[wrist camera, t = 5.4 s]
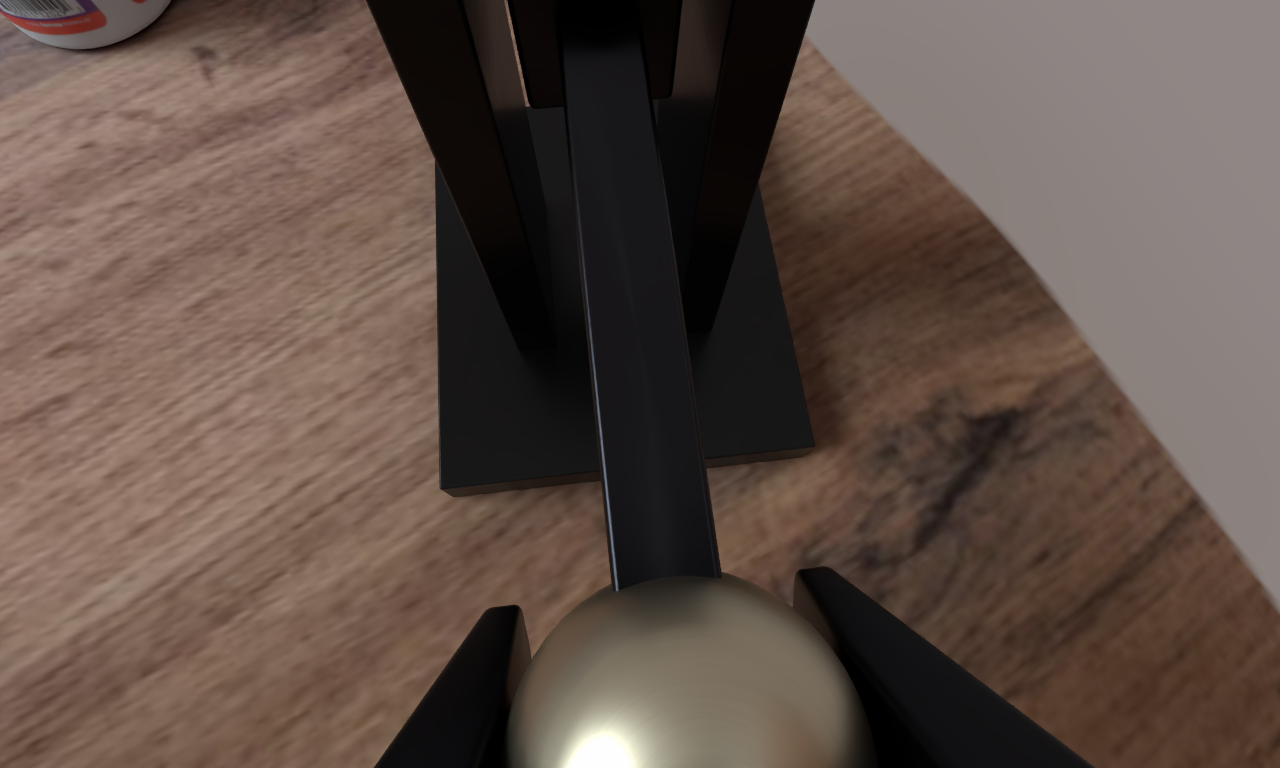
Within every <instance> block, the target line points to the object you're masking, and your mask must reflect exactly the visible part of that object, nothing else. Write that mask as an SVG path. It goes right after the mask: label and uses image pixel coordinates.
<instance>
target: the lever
mask: <svg viewBox="0 0 1280 768" xmlns="http://www.w3.org/2000/svg"><path fill="white" fill-rule="evenodd" d="M507 1H508V6H509V11H510V16H511V21H512V25H513V30H514V35H515V40H516V45H517V49H518V54H519V59H520V64H521V69H522V73H523V78H524V83H525V88H526V93H527V97H528V102H529V104H530V106H531V107H532V108H534V109H542V108H555V107H564V116H565V126H566V136H567V146H568V156H569V166H570V176H571V186H572V196H573V205H574V215H575V225H576V235H577V245H578V255H579V265H580V275H581V285H582V295H583V305H584V315H585V325H586V334H587V344H588V354H589V364H590V374H591V384H592V394H593V404H594V414H595V424H596V434H597V444H598V454H599V463H600V473H601V483H602V493H603V503H604V513H605V523H606V533H607V543H608V553H609V563H610V573H611V583H612V584H610V585H608V586H606V587H604V588H602V589H600V590H599V591H597V592H596V593H594V594H593V595H591V596H590V597H588V598H587V599H585V600H584V601H582V602H581V603H580V604H579V605H577V606H576V607H575V608H574V609H573V610H572V611H571V612H570V613H568V614H567V615H566V616H565V617H564V618H563V619H562V620H561V621H560V622H559V623H558V625H557V626H556V627H555V628H554V629H553V630H552V631H551V632H550V634H549V635H548V636H547V637H546V639H545V640H544V642H543V643H542V645H541V646H540V648H539V649H538V650H537V652H536V653H535V655H534V656H533V658H532V660H531V662H530V664H529V666H528V668H527V670H526V672H525V674H524V676H523V678H522V680H521V682H520V684H519V687H518V689H517V692H516V695H515V697H514V700H513V703H512V705H511V708H510V712H509V716H508V720H507V724H506V728H505V732H504V737H503V745H502V753H501V761H500V768H878V761H877V754H876V748H875V744H874V740H873V736H872V732H871V728H870V724H869V720H868V717H867V715H866V712H865V709H864V707H863V704H862V701H861V699H860V696H859V694H858V692H857V690H856V688H855V686H854V684H853V682H852V680H851V678H850V676H849V674H848V672H847V671H846V669H845V668H844V666H843V664H842V663H841V661H840V660H839V658H838V657H837V656H836V654H835V653H834V651H833V650H832V648H831V647H830V645H829V644H828V642H827V641H826V640H825V639H824V638H823V637H822V636H821V634H820V633H819V632H818V631H817V630H816V629H815V627H814V626H813V625H812V624H811V623H810V622H809V621H807V620H806V619H805V618H804V617H803V616H802V615H801V614H800V613H799V612H798V611H796V610H795V609H794V608H793V607H791V606H790V605H789V604H787V603H786V602H784V601H783V600H781V599H780V598H779V597H777V596H776V595H774V594H773V593H771V592H769V591H767V590H765V589H763V588H761V587H760V586H758V585H756V584H754V583H752V582H750V581H747V580H745V579H742V578H739V577H736V576H734V575H731V574H728V573H723V572H721V567H720V560H719V553H718V546H717V539H716V532H715V525H714V518H713V512H712V505H711V498H710V491H709V484H708V477H707V470H706V463H705V456H704V449H703V443H702V436H701V429H700V422H699V415H698V408H697V401H696V394H695V387H694V380H693V374H692V367H691V360H690V353H689V346H688V339H687V332H686V325H685V318H684V311H683V305H682V298H681V291H680V284H679V277H678V270H677V263H676V256H675V249H674V242H673V236H672V229H671V222H670V215H669V208H668V201H667V194H666V187H665V180H664V173H663V167H662V160H661V153H660V146H659V139H658V132H657V125H656V118H655V111H654V105H653V100H654V99H667V98H669V97H671V95H672V92H673V85H674V76H675V67H676V58H677V49H678V39H679V30H680V21H681V12H682V3H683V0H507Z"/></svg>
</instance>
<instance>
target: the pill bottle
mask: <svg viewBox="0 0 1280 768" xmlns="http://www.w3.org/2000/svg"><path fill="white" fill-rule="evenodd" d="M170 2H171V0H0V12H1V13H2V14H3V15H4V16H5V17H6V18H8V19H9V20H10V21H11V22H12V23H13V24H14V25H16V26H17V27H18V28H19V29H20V30H21V31H23V32H24V33H26V34H27V35H29V36H30V37H32V38H34V39H36V40H38V41H40V42H42V43H45V44H48V45H51V46H56V47H60V48H68V49H90V48H97V47H103V46H106V45H110V44H113V43H116V42H119V41H121V40H124V39H126V38H128V37H130V36H132V35H134V34H136V33H138V32H139V31H141V30H142V29H144V28H146V27H147V26H148V25H149V24H151V23H152V22H153V21H155V20H156V19H157V18H158V17H159V16H160V15H161V14H162V12H163V11H164V10H165V9H166V7H167V6H168V5H169V3H170Z"/></svg>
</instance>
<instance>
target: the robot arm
mask: <svg viewBox="0 0 1280 768" xmlns="http://www.w3.org/2000/svg"><path fill="white" fill-rule="evenodd" d="M793 608H794V609H795V610H796V611H798V612H799V613H800V614H801V615H802V616H803V617H804V618H805V619H806V620H807V621H809V622H810V623H811V624H812V625H813V626H814V627H815V629H816V630H817V631H818V632H819V633H820V634H821V636H822V637H823V638H824V639H825V640H826V641H827V642H828V644H829V645H830V647H831V648H832V650H833V651H834V653H835V654H836V656H837V657H838V658H839V660H840V661H841V663H842V664H843V666H844V668H845V669H846V671H847V672H848V674H849V676H850V678H851V680H852V682H853V684H854V686H855V688H856V690H857V692H858V694H859V696H860V699H861V701H862V704H863V707H864V709H865V712H866V715H867V717H868V720H869V724H870V728H871V732H872V736H873V740H874V744H875V748H876V754H877V761H878V768H1095V767H1093V766H1092V765H1091V764H1089V763H1088V762H1087V761H1086V760H1084V759H1083V758H1082V757H1080V756H1079V755H1078V754H1076V753H1075V752H1074V751H1072V750H1071V749H1070V748H1068V747H1067V746H1066V745H1064V744H1063V743H1062V742H1060V741H1059V740H1058V739H1056V738H1055V737H1054V736H1052V735H1051V734H1050V733H1048V732H1047V731H1046V730H1044V729H1043V728H1042V727H1041V726H1039V725H1038V724H1037V723H1035V722H1034V721H1033V720H1031V719H1030V718H1029V717H1027V716H1026V715H1025V714H1023V713H1022V712H1021V711H1019V710H1018V709H1017V708H1015V707H1014V706H1013V705H1011V704H1010V703H1009V702H1007V701H1006V700H1005V699H1003V698H1002V697H1001V696H999V695H998V694H997V693H996V692H994V691H993V690H992V689H990V688H989V687H988V686H986V685H985V684H984V683H982V682H981V681H980V680H978V679H977V678H976V677H974V676H973V675H972V674H970V673H969V672H968V671H966V670H965V669H964V668H962V667H961V666H960V665H958V664H957V663H956V662H954V661H953V660H952V659H951V658H949V657H948V656H947V655H945V654H944V653H943V652H941V651H940V650H939V649H937V648H936V647H935V646H933V645H932V644H931V643H929V642H928V641H927V640H925V639H924V638H923V637H921V636H920V635H919V634H917V633H916V632H915V631H913V630H912V629H911V628H910V627H908V626H907V625H906V624H904V623H903V622H902V621H900V620H899V619H898V618H896V617H895V616H894V615H892V614H891V613H890V612H888V611H887V610H886V609H884V608H883V607H882V606H880V605H879V604H878V603H876V602H875V601H874V600H872V599H871V598H870V597H868V596H867V595H866V594H865V593H863V592H862V591H861V590H859V589H858V588H857V587H855V586H854V585H853V584H851V583H850V582H849V581H847V580H846V579H845V578H843V577H842V576H841V575H839V574H838V573H837V572H835V571H834V570H833V569H831V568H829V567H825V566H822V567H814V568H806V569H800V570H798V571H797V572H796V575H795V579H794V599H793ZM531 660H532V659H531V651H530V646H529V641H528V636H527V631H526V626H525V621H524V616H523V612H522V609H521V608H520V607H519V606H517V605H508V606H500V607H492V608H489V609H487V610H486V611H485V612H484V613H483V615H482V616H481V617H480V619H479V620H478V622H477V623H476V624H475V626H474V627H473V629H472V630H471V631H470V633H469V634H468V636H467V637H466V639H465V640H464V641H463V643H462V644H461V646H460V647H459V648H458V650H457V651H456V653H455V654H454V655H453V657H452V658H451V660H450V661H449V662H448V664H447V665H446V667H445V668H444V670H443V671H442V672H441V674H440V675H439V677H438V678H437V679H436V681H435V682H434V684H433V685H432V686H431V688H430V689H429V691H428V692H427V693H426V695H425V696H424V698H423V699H422V701H421V702H420V703H419V705H418V706H417V708H416V709H415V710H414V712H413V713H412V715H411V716H410V717H409V719H408V720H407V722H406V723H405V725H404V726H403V727H402V729H401V730H400V732H399V733H398V734H397V736H396V737H395V739H394V740H393V741H392V743H391V744H390V746H389V747H388V748H387V750H386V751H385V753H384V754H383V756H382V757H381V758H380V760H379V761H378V763H377V764H376V765H375V767H374V768H500V761H501V753H502V745H503V737H504V732H505V728H506V724H507V720H508V716H509V712H510V708H511V705H512V703H513V700H514V697H515V695H516V692H517V689H518V687H519V684H520V682H521V680H522V678H523V676H524V674H525V672H526V670H527V668H528V666H529V664H530V662H531Z"/></svg>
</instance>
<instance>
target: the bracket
mask: <svg viewBox="0 0 1280 768" xmlns="http://www.w3.org/2000/svg"><path fill="white" fill-rule="evenodd" d="M366 2H367V4H368V7H369V9H370V12H371V14H372V16H373V18H374V20H375V23H376V25H377V27H378V29H379V32H380V34H381V36H382V39H383V41H384V43H385V46H386V48H387V50H388V52H389V55H390V57H391V59H392V62H393V64H394V66H395V69H396V71H397V73H398V75H399V78H400V80H401V82H402V85H403V87H404V89H405V91H406V94H407V96H408V98H409V101H410V103H411V105H412V108H413V110H414V112H415V114H416V117H417V119H418V121H419V124H420V126H421V128H422V130H423V133H424V135H425V137H426V140H427V142H428V144H429V147H430V149H431V151H432V153H433V156H434V158H435V192H436V263H437V333H438V404H439V475H440V489H441V490H443V491H444V492H446V493H448V494H449V495H451V496H453V497H459V496H468V495H476V494H485V493H494V492H502V491H511V490H520V489H529V488H537V487H546V486H555V485H563V484H572V483H581V482H590V481H598V480H601V473H600V463H599V454H598V444H597V434H596V424H595V414H594V404H593V394H592V384H591V374H590V364H589V354H588V344H587V334H586V325H585V315H584V305H583V295H582V285H581V275H580V265H579V255H578V245H577V235H576V225H575V215H574V205H573V196H572V186H571V176H570V166H569V156H568V146H567V136H566V126H565V116H564V107H555V108H542V109H534V108H532V107H531V106H530V107H526V106H525V101H524V96H523V91H522V86H521V81H520V76H519V72H518V67H517V62H516V57H515V52H514V47H513V42H512V38H511V33H510V28H509V23H508V18H507V13H506V8H505V4H504V0H366ZM814 2H815V0H683V3H682V12H681V21H680V30H679V39H678V49H677V58H676V67H675V76H674V85H673V92H672V95H671V97H669V98H667V99H654V100H653V105H654V111H655V118H656V125H657V132H658V139H659V146H660V153H661V160H662V167H663V173H664V180H665V187H666V194H667V201H668V208H669V215H670V222H671V229H672V236H673V242H674V249H675V256H676V263H677V270H678V277H679V284H680V291H681V298H682V305H683V311H684V318H685V325H686V332H687V339H688V346H689V353H690V360H691V367H692V374H693V380H694V387H695V394H696V401H697V408H698V415H699V422H700V429H701V436H702V443H703V449H704V456H705V463H706V468H712V467H720V466H729V465H738V464H747V463H755V462H764V461H773V460H781V459H790V458H799V457H803V456H804V455H805V454H806V453H807V452H809V451H810V450H811V449H812V448H814V447H815V443H814V438H813V434H812V429H811V424H810V420H809V415H808V411H807V406H806V401H805V397H804V392H803V387H802V383H801V378H800V373H799V369H798V364H797V360H796V355H795V350H794V346H793V341H792V336H791V332H790V327H789V322H788V318H787V313H786V309H785V304H784V299H783V295H782V290H781V285H780V281H779V276H778V271H777V267H776V262H775V258H774V253H773V248H772V244H771V239H770V234H769V230H768V225H767V221H766V216H765V211H764V207H763V202H762V197H761V193H760V188H759V183H758V182H759V178H760V175H761V172H762V169H763V166H764V162H765V159H766V156H767V153H768V150H769V146H770V143H771V140H772V137H773V134H774V130H775V127H776V124H777V121H778V118H779V114H780V111H781V108H782V105H783V102H784V98H785V95H786V92H787V89H788V86H789V82H790V79H791V76H792V73H793V70H794V66H795V63H796V60H797V57H798V53H799V50H800V47H801V44H802V41H803V37H804V34H805V31H806V28H807V25H808V21H809V18H810V15H811V12H812V8H813V5H814Z"/></svg>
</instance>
